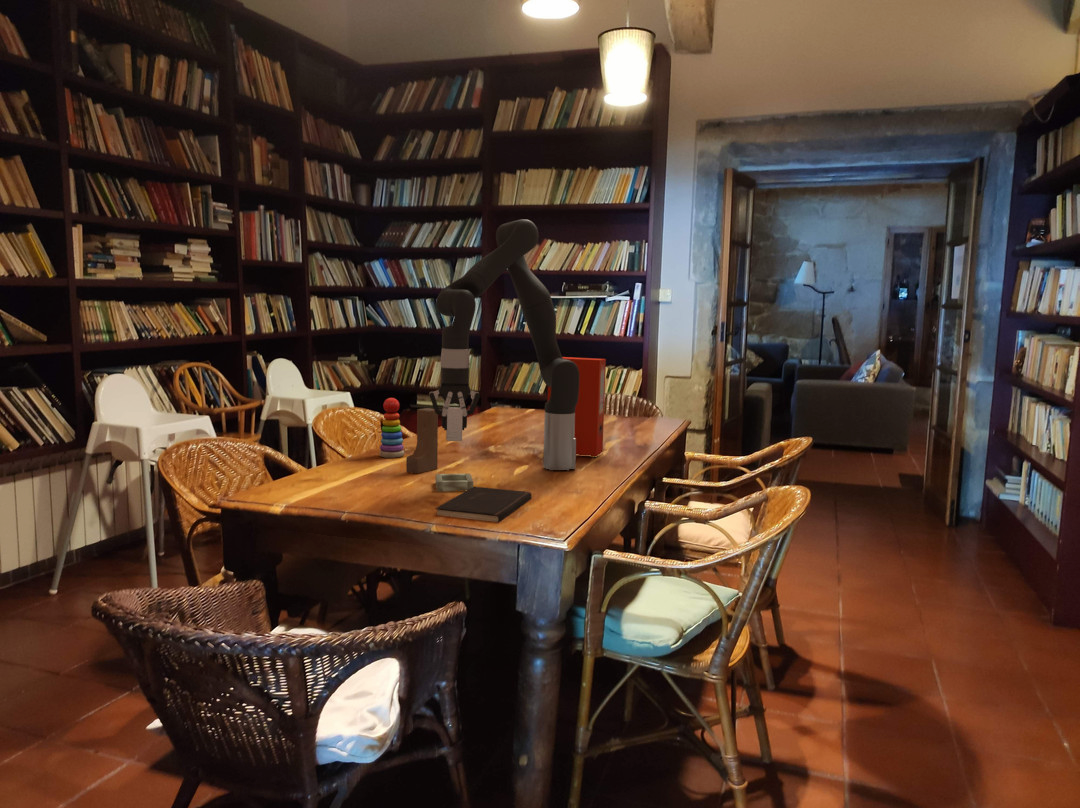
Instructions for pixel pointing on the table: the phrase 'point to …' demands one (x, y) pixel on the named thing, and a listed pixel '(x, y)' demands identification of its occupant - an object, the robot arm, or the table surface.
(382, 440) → the stacking toy
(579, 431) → the file binder
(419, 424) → the wooden block
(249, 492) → the table surface
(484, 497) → the hardcover book
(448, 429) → the gray rectangular block
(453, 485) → the grey shallow square tray
